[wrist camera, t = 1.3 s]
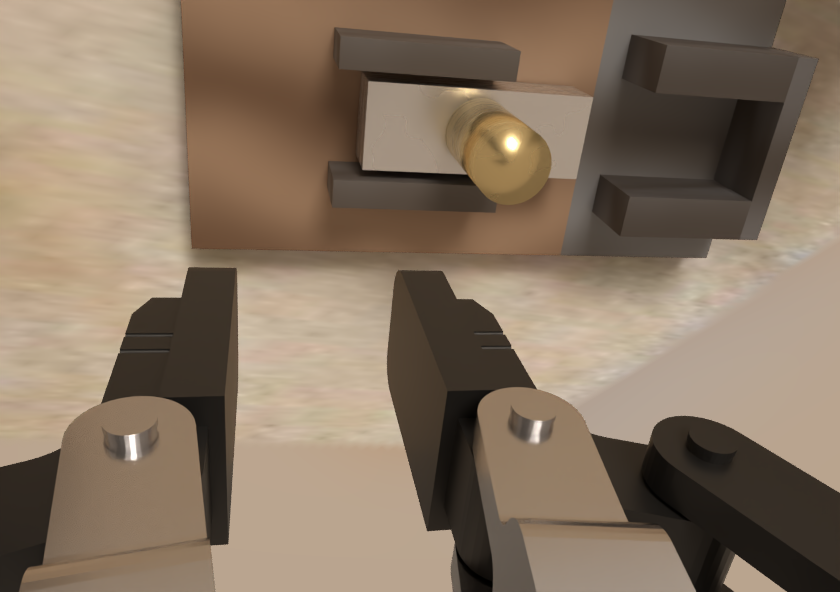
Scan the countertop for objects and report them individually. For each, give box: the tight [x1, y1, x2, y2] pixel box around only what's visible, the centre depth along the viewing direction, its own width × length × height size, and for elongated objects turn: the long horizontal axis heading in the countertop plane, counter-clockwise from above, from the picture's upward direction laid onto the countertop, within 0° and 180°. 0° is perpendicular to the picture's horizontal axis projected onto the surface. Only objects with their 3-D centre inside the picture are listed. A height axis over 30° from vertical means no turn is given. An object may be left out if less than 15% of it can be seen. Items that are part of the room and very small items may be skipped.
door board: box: [181, 0, 818, 258], centre depth 26 cm, size 11×22×4 cm, turn 84°
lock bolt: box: [356, 71, 593, 205], centre depth 24 cm, size 3×8×6 cm, turn 84°
